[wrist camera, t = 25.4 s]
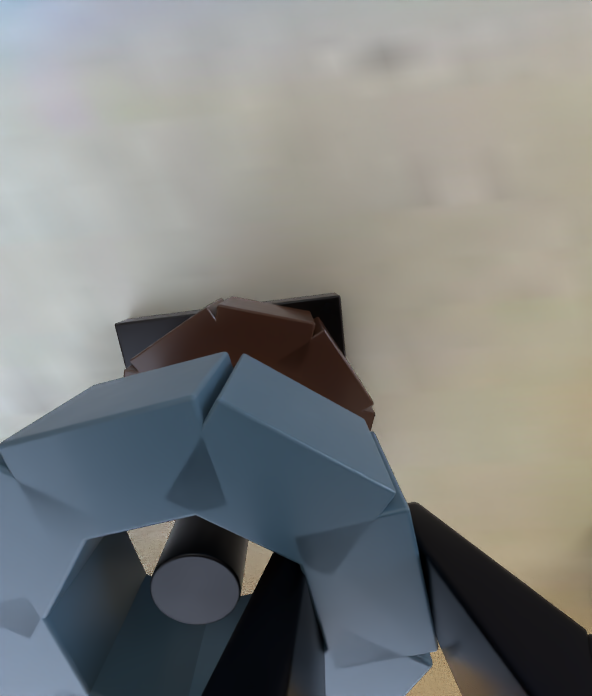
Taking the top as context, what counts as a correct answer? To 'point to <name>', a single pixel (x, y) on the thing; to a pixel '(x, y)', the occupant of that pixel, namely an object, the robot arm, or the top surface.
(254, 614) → the robot arm
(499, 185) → the top surface
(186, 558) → the stand
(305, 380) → the walnut ring
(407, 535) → the slate ring
